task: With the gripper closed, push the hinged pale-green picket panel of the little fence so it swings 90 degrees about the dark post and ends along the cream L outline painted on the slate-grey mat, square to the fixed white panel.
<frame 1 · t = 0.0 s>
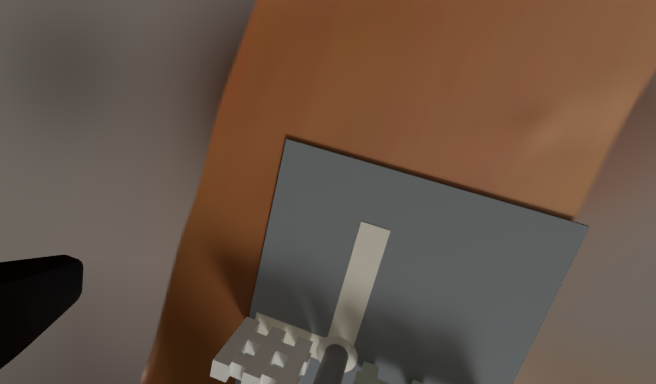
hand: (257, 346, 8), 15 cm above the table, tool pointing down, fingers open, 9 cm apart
layout mat: (374, 338, 24), on the table
fixed fence panel: (337, 352, 25), resting on layout mat
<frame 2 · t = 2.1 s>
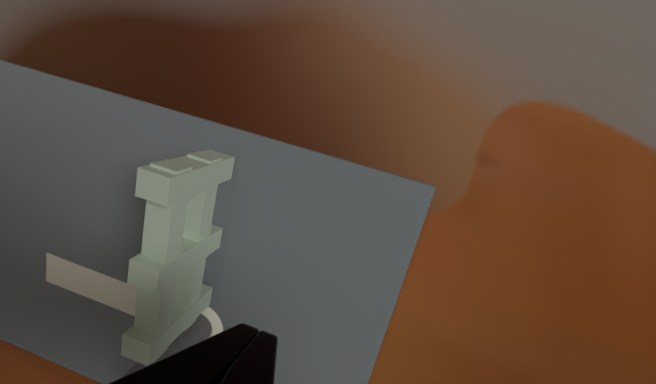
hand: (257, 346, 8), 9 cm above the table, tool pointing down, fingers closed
layout mat: (171, 278, 19), on the table
fixed fence panel: (200, 323, 19), resting on layout mat
hinged fence panel: (180, 252, 15), point 3 cm above the table, hinge at 0.0°
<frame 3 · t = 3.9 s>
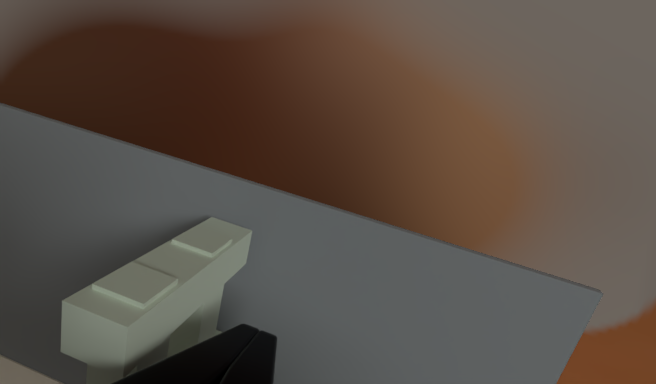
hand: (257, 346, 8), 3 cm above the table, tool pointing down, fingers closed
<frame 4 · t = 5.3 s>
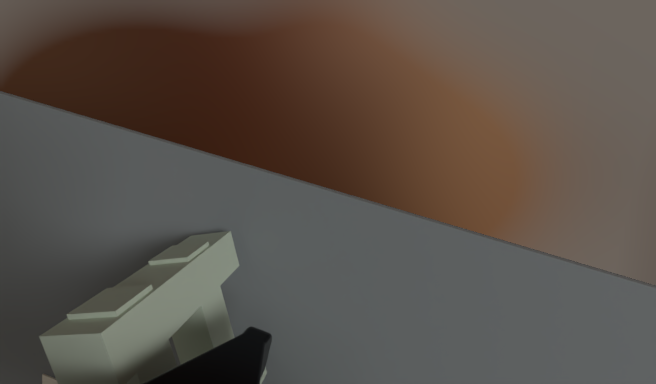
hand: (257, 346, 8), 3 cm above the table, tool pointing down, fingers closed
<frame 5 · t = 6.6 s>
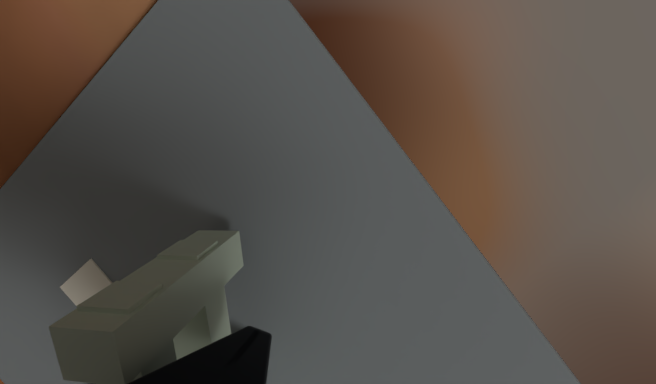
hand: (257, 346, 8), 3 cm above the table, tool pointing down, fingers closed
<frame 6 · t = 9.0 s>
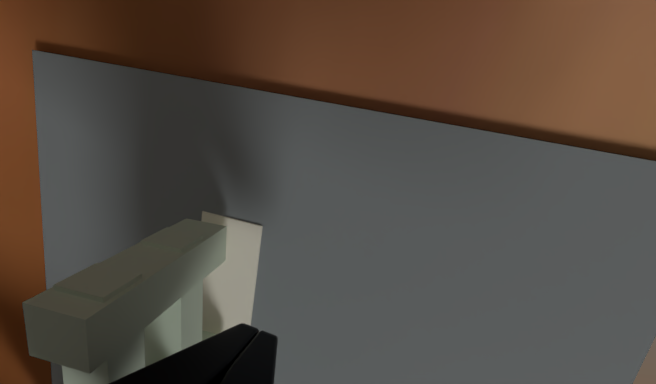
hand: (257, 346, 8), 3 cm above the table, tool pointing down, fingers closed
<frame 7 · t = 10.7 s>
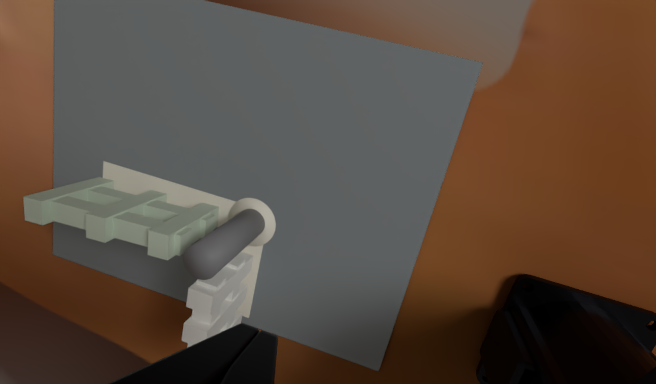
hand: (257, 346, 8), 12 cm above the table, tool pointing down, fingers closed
layout mat: (225, 177, 20), on the table
fixed fence panel: (253, 221, 21), resting on layout mat
hinged fence panel: (130, 213, 19), point 3 cm above the table, hinge at 93.4°
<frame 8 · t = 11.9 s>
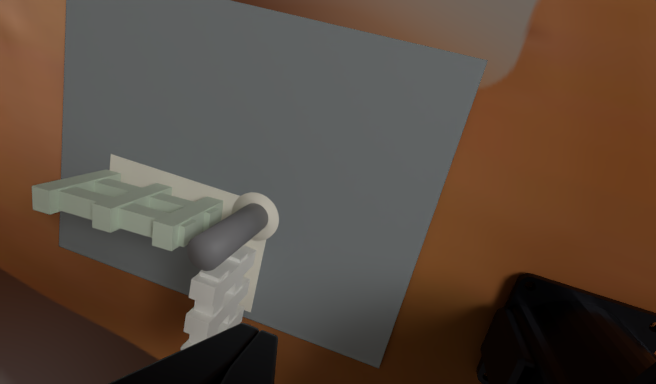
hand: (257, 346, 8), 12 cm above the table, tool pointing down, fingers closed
layout mat: (230, 171, 20), on the table
fixed fence panel: (256, 215, 21), resting on layout mat
hinged fence panel: (136, 205, 19), point 3 cm above the table, hinge at 93.4°
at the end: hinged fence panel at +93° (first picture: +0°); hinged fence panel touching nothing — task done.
